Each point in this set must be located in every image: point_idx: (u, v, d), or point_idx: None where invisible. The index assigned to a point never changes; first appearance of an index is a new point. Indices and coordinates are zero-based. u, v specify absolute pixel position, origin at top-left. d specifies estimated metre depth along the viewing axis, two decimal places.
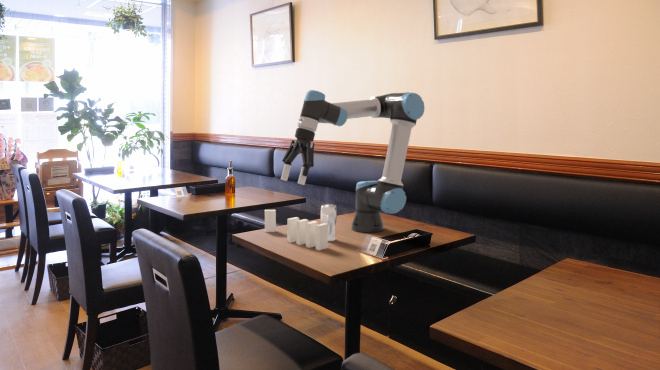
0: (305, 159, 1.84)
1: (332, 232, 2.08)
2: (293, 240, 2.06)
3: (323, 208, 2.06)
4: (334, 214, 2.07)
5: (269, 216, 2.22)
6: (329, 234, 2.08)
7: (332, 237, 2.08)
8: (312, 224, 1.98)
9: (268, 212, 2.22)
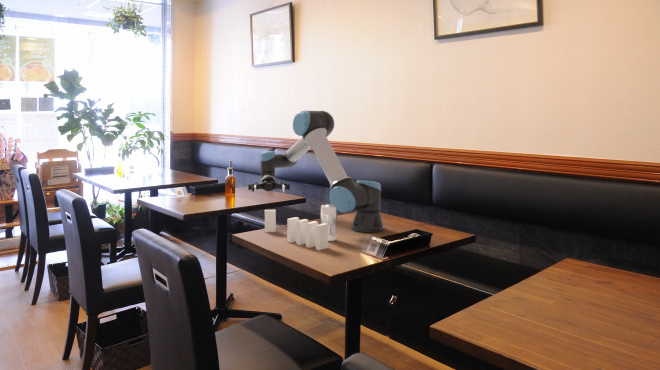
0: None
1: (332, 232, 2.08)
2: (293, 240, 2.06)
3: (323, 208, 2.06)
4: (334, 214, 2.07)
5: (269, 216, 2.22)
6: (329, 234, 2.08)
7: (332, 237, 2.08)
8: (312, 224, 1.98)
9: (268, 212, 2.22)
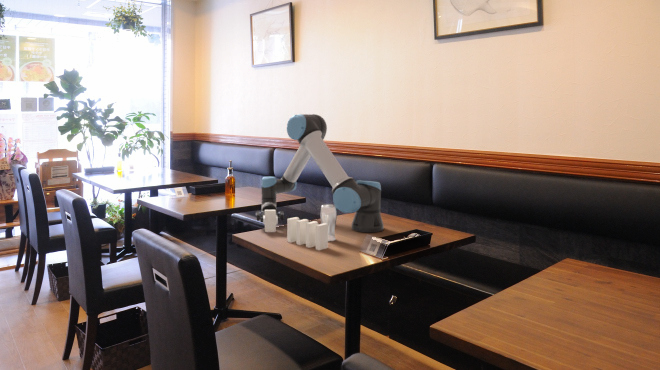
0: None
1: (332, 232, 2.08)
2: (293, 240, 2.06)
3: (323, 208, 2.06)
4: (334, 214, 2.07)
5: (269, 216, 2.22)
6: (329, 234, 2.08)
7: (332, 237, 2.08)
8: (312, 224, 1.98)
9: (268, 212, 2.22)
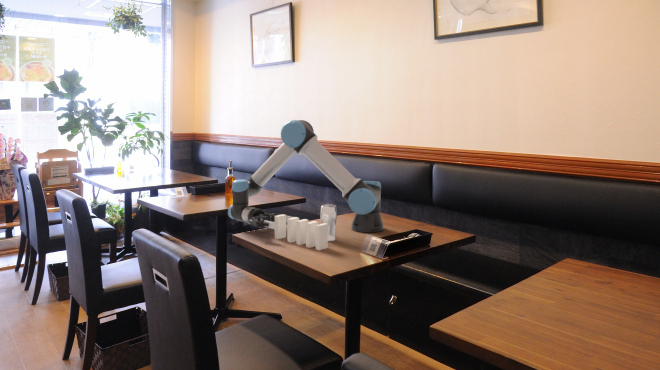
0: None
1: (332, 232, 2.08)
2: (293, 240, 2.06)
3: (323, 208, 2.06)
4: (334, 214, 2.07)
5: (281, 222, 2.11)
6: (329, 234, 2.08)
7: (332, 237, 2.08)
8: (312, 224, 1.98)
9: (280, 218, 2.10)
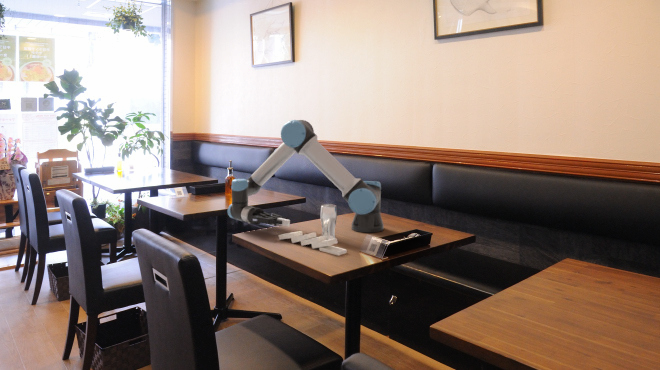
0: (270, 222, 2.13)
1: (332, 232, 2.08)
2: None
3: (323, 208, 2.06)
4: (334, 214, 2.07)
5: None
6: (329, 234, 2.08)
7: (332, 237, 2.08)
8: (331, 244, 1.91)
9: None
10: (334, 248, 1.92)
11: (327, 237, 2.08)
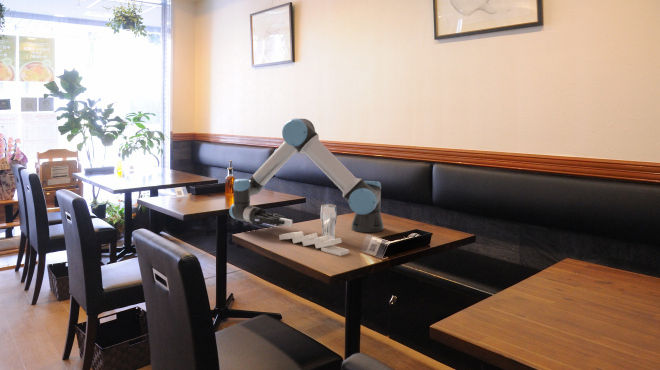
0: None
1: (332, 232, 2.08)
2: None
3: (323, 208, 2.06)
4: (334, 214, 2.07)
5: None
6: (329, 234, 2.08)
7: (332, 237, 2.08)
8: None
9: (296, 237, 2.04)
10: (336, 248, 1.92)
11: None
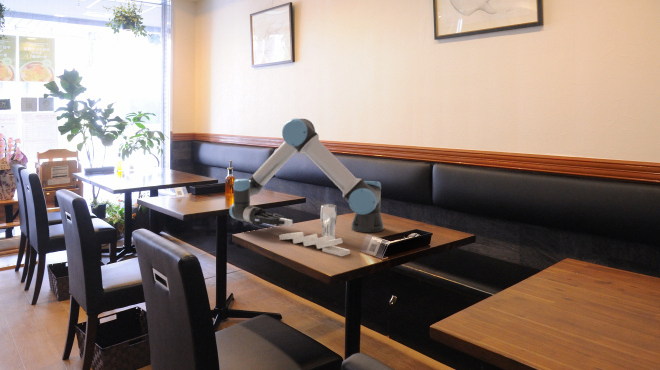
0: None
1: (332, 232, 2.08)
2: None
3: (323, 208, 2.06)
4: (334, 214, 2.07)
5: None
6: (329, 234, 2.08)
7: (332, 237, 2.08)
8: (336, 244, 1.89)
9: (296, 237, 2.04)
10: (337, 248, 1.91)
11: None
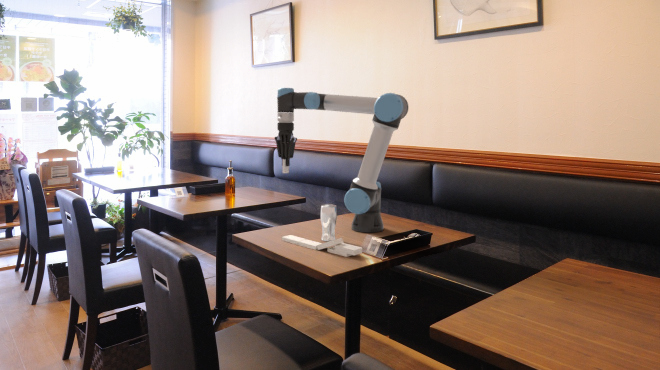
0: (287, 152, 2.24)
1: (332, 232, 2.08)
2: None
3: (323, 208, 2.06)
4: (334, 214, 2.07)
5: None
6: (329, 234, 2.08)
7: (332, 237, 2.08)
8: None
9: None
10: None
11: (327, 237, 2.08)
